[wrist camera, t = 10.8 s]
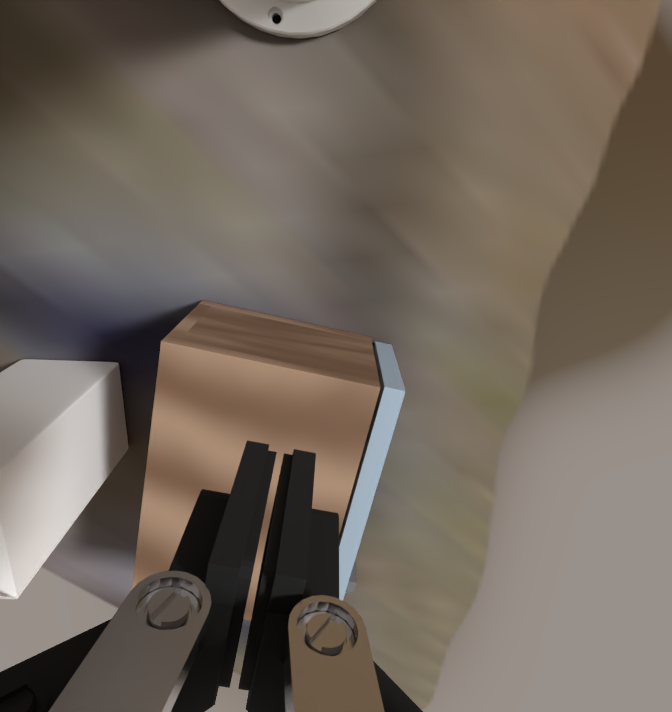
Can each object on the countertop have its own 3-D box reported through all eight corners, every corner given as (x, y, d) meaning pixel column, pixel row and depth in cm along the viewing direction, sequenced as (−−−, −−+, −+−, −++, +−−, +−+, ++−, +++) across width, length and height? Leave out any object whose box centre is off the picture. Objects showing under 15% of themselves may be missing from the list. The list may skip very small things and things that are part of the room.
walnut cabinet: (202, 299, 36) (161, 341, 28) (371, 336, 37) (380, 387, 28) (172, 512, 42) (130, 599, 34) (317, 539, 43) (312, 631, 35)
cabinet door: (375, 341, 37) (384, 386, 29) (405, 347, 37) (422, 394, 29) (321, 543, 42) (317, 624, 35) (347, 548, 43) (349, 630, 35)
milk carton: (130, 447, 40) (-37, 673, 22) (37, 444, 40) (-204, 668, 22) (120, 361, 38) (-76, 536, 20) (21, 357, 38) (-265, 531, 20)
